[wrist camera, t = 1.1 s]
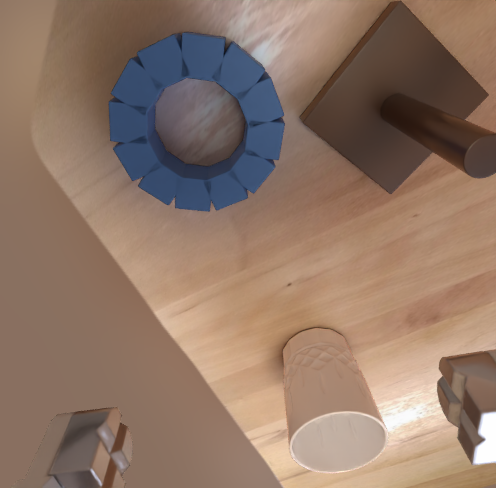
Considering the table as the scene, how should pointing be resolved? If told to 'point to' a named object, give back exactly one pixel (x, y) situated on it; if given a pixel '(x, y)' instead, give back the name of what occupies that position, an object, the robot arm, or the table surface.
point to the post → (402, 104)
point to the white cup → (329, 405)
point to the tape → (150, 145)
